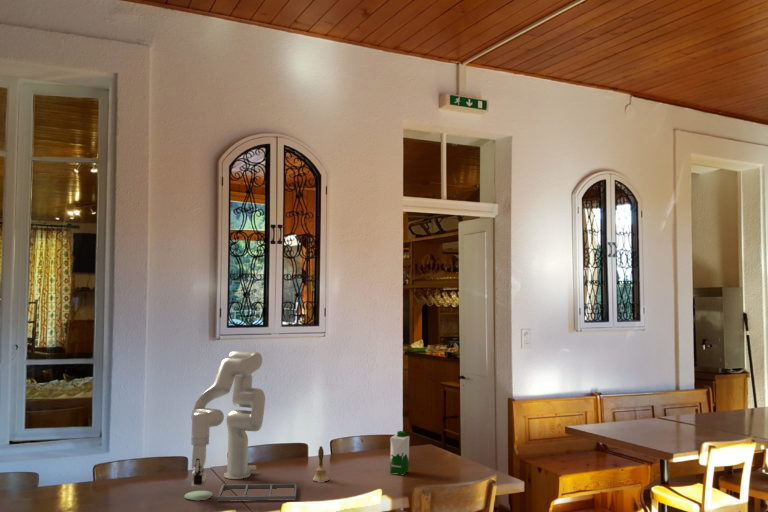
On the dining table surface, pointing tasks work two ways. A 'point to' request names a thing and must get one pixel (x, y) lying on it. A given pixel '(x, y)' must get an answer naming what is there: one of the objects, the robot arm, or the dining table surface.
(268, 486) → the organiser
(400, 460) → the milk carton
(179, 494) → the dining table surface
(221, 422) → the robot arm
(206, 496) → the mat
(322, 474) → the hand bell
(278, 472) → the dining table surface
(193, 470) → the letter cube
